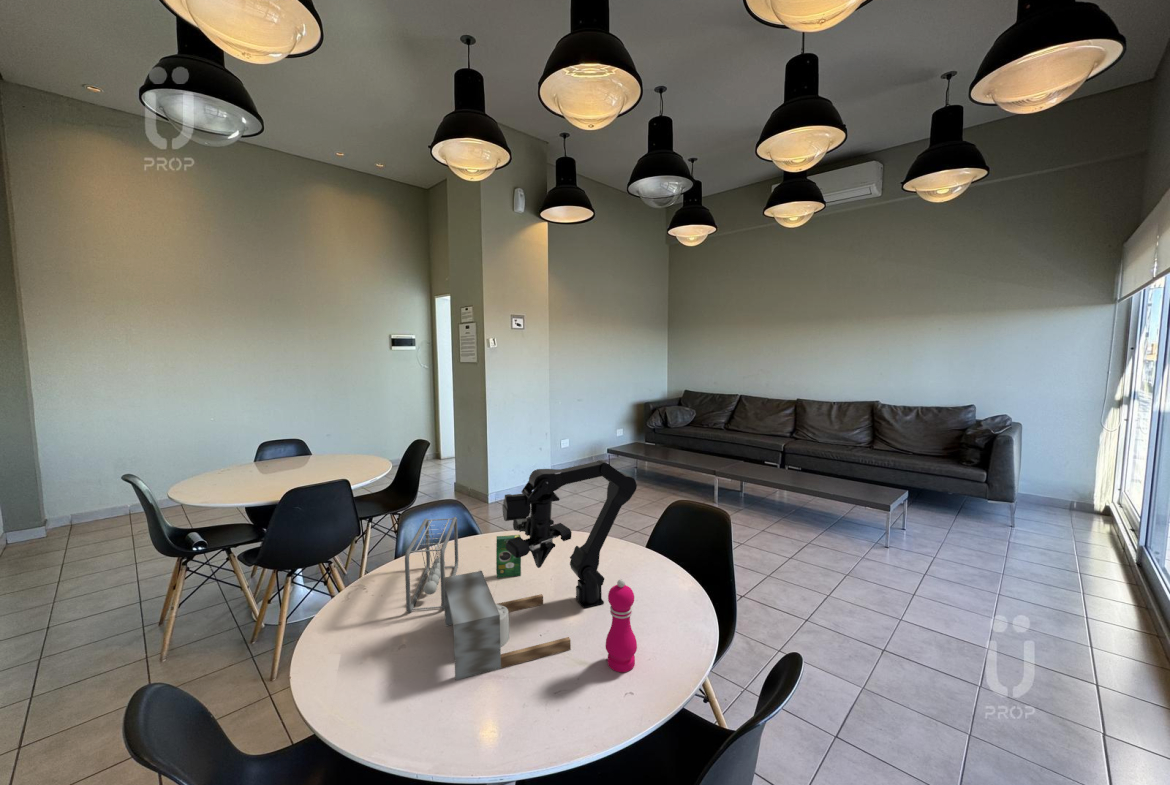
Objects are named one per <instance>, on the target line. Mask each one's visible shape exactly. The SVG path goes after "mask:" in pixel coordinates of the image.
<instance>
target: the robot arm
mask: <svg viewBox="0 0 1170 785" xmlns="http://www.w3.org/2000/svg"><path fill="white" fill-rule="evenodd" d="M600 477H602V478H604V479H605V480H606V481H608V485H607V490H606V491H607V492H606V498H605V499H606V500H605V501H604V503H603V506H602V507H601V510H600V512H599V514H598V516H597V518H596V520H595V522H594V524H593V526H592V528H591V531H590V532H589V535H588V536H587V539H586V541H585V542H584V544H582V545H581V546H578V545H576V546H575V547H574V549H573V552H572V554H571V555H570V556H569V558H570V562H569V566H570V569H571V570H572V571H573V573H574V574H575V575H576V576H577V578H578V579H577V585H576V586H575V599H576V600H577V602H578V604H580V605H581V607H582V608H583V609H587V608H591V607H595V606H600V605H603V604H605V601H604V600H603V598H602V586H603V585H604V583H605V582H604V581H605V577H604V576H603V575H602V574H601V573H600V572H599V571H598V570H599V564H600V555H601V554H600V553H601V550H602V547H603V546H604V544H605V542H606V540H607V538H608V536H609V533H610V531H611V529H612V527H613V525H614V523H615V521H616V518H617V517H618V515H619V512H620V510H621V508H622V507H623V506H624V505H625V504H626V503H628V502H629V501H630V499H631V498H632V497H633V495H634V494H635V492H636V491H637V488H638V484H637V481H636V480H635V478H634V477H633V476H630V475H628V474H627V473H625V472H622V471H618V469H616V468H614V466H612V465H611V464H610V463H609V462H607V461H605V460H603V459H598V460H597V461H592V462H589V463H583V464H579V465H574V466H569V467H565V468H561V469H559V468H558V469H557V468H555V469H554V468H537V469H534V470H533V471H532V472H531V473H530V475H529V477H528V481H527V482H526V484H525V485H524V487H523V489H522V490H521V493H516V494H510V493H509V494H504V499H503V503H502V505H501V506H502V516H503V520H504V521H505V522H509V521H513V522H512V527H513V530H514V531H519V533H521V532H524V535H526V537H528V536H529V537H528V538H526V539H523V538H522V537H516V538H513V539H510V540H508V541H507V542H506V550H507V551H509V552H510V553H511V554H512V555H513V556H515V557H516V558H520V557H521V558H523V557H525V556H528V555H529V553H531V555H532V558H533V561H534V563H535V566H536V567H537V568H538V569H539V568H541V567H542V566H543V564H544V563H545V560H546V559H547V557H548V556H549V554H550V553H551V552H552V550H553V549H554V548H555V547H556V544H555V543H554V541H553V539H555V538H558V537H560V540H561V541H562V542H565V541H569V540H572V534H573V532H572V530H571V529H570V528H569V527H568V526H566V525H564V524H563V523H561V522H558V523H555V520H554V519H552V507H553V505H552V504H553V502H559V501H560V497H559V496H558V495H557V493H555V491H558V490H559V489H560V488H561V487H564V486H566V485H570V484H573V483H578V482H582V481H587V480H591V479H595V478H600ZM554 523H555V524H554Z"/></svg>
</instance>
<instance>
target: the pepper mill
mask: <svg viewBox="0 0 1170 785" xmlns="http://www.w3.org/2000/svg"><path fill="white" fill-rule="evenodd" d="M616 583H617V584H616V585H613V586H611V588H610V589H609V591H608V593H607V601H608V603H609V605H610V606H609V607H610V608H609V609H610V610H609V612H610V615H611V618H612V619H611V626H610V629H609V631H608V633H607V635H606V639H605V650H606V652H607V653H608V654H607V665H608V667H609V668H610V669H611V670H613V671H614V672H617V673H628V672H630V671H631V670H633V669H634V667H635V665H636V662H635V661H636V658H635V654H636V652H637V651H638V650H637V649H638V644H637V638H636V636H635V633H634V631H633V629H632V625H631V616H632V614H633V607H632V606H634V602H635V593H634V592H633V589H632V588H631V587H630V586H629V585H626V582H625V580H624V579H621V578H619V579H618V580H617V582H616Z"/></svg>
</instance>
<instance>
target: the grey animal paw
mask: <svg viewBox="0 0 1170 785" xmlns="http://www.w3.org/2000/svg"><path fill="white" fill-rule="evenodd" d="M495 604H496V607H497V609H498V612H499V614H500V649H501V648H503V647H504V646H505V645H506V644H507V643H508V642H509V640H510V621H509V620H510V619H509V616H510V615H509V612H508V609H507V608H506V607H504V606H502V605H499V604H498V603H495Z"/></svg>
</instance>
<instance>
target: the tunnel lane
mask: <svg viewBox="0 0 1170 785" xmlns="http://www.w3.org/2000/svg"><path fill="white" fill-rule="evenodd" d="M444 603H445V610H444V625H448V626H452V627H453V646H454V648H453V649H454V651H453V653H454V654H453V655H454V657H453V658H454V678H455V681H458V680H462V679H465V678H469V677H473V676H476V675H477V676H478V675H480V674H484V673H487V672H488V673H489V672H491V671H492V672H493V671H496V670H501V669H503V668H506V667H511V666H513V665H515V666H516V665H518V664H521V663H526V662H529V661H533V660H537V659H541V658H544V657H548V656H551V655H556V654H560V653H563V652H567V651H570V650H571V648H572V647H571V646H572V645H571V644H572V643H571V638H570V636H567V637H562V638H559V639H555V640H552V641H548V642H544V643H540V644H536V645H532V646H528V647H524V648H519V649H516V650H513V651H509V652H508V651H507V652H505V653H501V648H500V614H499V612H498V609H497V607H496V604H499V605H502V606H504V607H506V608H507V609H508V613H510V612H516V611H520V610H524V609H528V608H529V609H530V608H532V607H533V608H535V607H538V606H542V605H544V595H543V594H542V593H541V594H535V595H532V596H528V597H527V596H526V597H523V598H522V597H521V598H517V599H512V600H508V601H503V602H499V603H495V600H494V597H493V594H492V593H491V589H490V588H489V585H488V583H487V579H486V578H485V574H484V573H483V570H478V571H472V572H468V573H467V572H466V573H462V574H456V575H455V576H452V575H451V576H445V578H444ZM451 624H453V625H451Z"/></svg>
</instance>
